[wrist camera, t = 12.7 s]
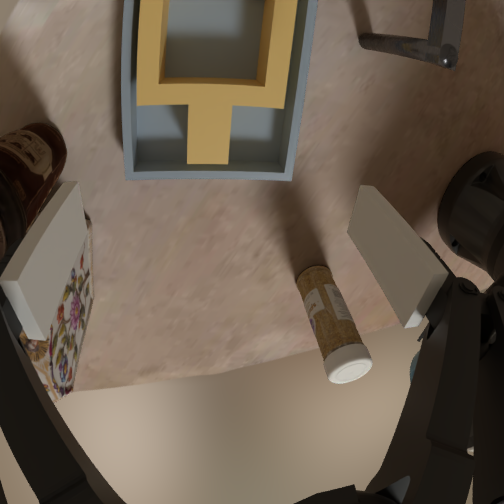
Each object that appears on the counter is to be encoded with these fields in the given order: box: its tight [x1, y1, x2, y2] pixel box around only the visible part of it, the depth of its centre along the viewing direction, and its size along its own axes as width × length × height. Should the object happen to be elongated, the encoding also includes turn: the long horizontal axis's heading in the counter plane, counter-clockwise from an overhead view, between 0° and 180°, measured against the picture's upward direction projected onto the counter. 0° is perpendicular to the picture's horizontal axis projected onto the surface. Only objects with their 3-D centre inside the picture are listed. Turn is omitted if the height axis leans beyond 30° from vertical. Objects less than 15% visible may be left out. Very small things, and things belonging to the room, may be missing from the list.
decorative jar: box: [19, 212, 94, 403], centre depth 24 cm, size 12×12×18 cm
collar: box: [137, 0, 298, 164], centre depth 20 cm, size 15×10×4 cm
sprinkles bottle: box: [297, 266, 372, 384], centre depth 33 cm, size 5×5×14 cm
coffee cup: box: [0, 123, 67, 262], centre depth 19 cm, size 9×8×13 cm
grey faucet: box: [359, 0, 466, 71], centre depth 17 cm, size 2×6×11 cm, turn 175°
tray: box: [121, 0, 318, 181], centre depth 21 cm, size 14×18×3 cm
